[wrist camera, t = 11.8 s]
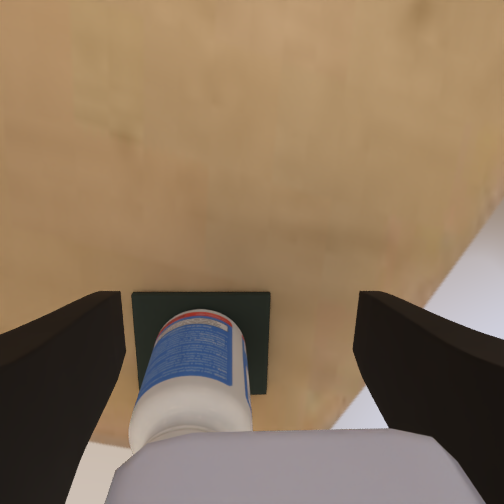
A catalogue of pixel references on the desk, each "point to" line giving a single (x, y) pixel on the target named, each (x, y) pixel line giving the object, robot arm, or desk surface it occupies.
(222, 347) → the pill bottle
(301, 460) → the robot arm
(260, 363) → the pad
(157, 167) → the desk surface
